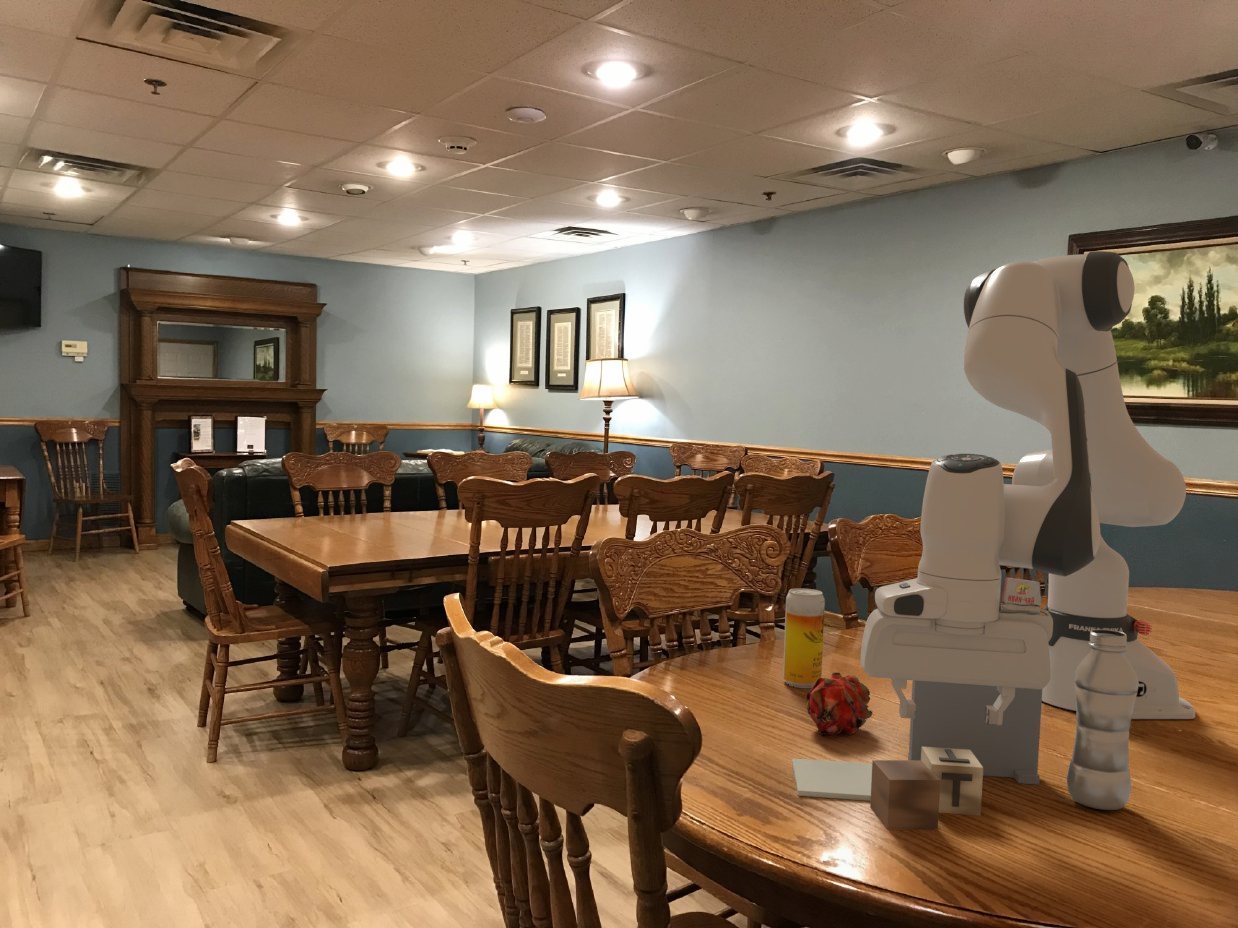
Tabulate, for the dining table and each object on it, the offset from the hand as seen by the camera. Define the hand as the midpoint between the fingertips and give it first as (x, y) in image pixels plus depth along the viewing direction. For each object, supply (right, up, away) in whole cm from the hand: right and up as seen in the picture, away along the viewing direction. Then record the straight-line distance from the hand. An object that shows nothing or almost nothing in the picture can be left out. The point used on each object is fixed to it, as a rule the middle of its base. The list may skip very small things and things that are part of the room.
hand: (949, 720), depth 107 cm
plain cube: (-6, -10, -4) cm, 12 cm away
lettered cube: (0, -10, +1) cm, 10 cm away
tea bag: (+46, -5, +91) cm, 102 cm away
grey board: (+6, -9, +10) cm, 15 cm away
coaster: (-11, -9, +6) cm, 16 cm away
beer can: (-8, -7, +46) cm, 47 cm away
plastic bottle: (+17, -10, +1) cm, 20 cm away
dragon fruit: (-7, -8, +24) cm, 26 cm away
